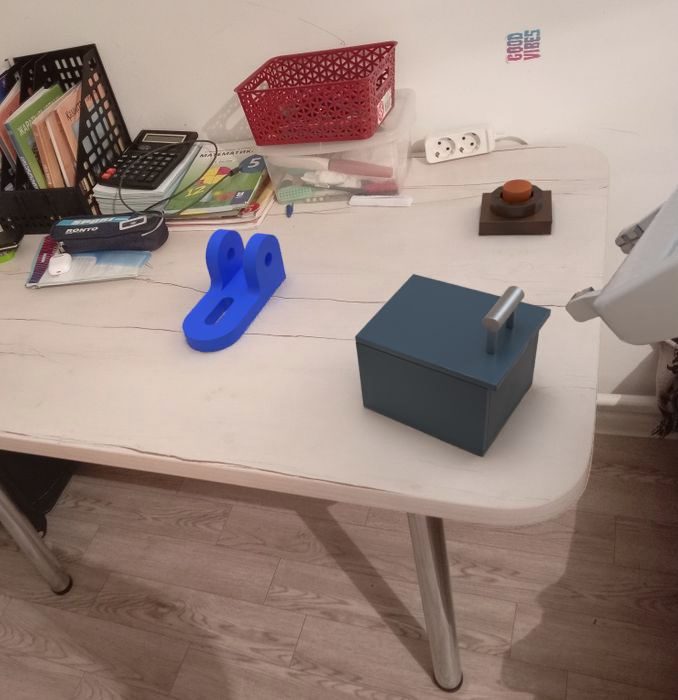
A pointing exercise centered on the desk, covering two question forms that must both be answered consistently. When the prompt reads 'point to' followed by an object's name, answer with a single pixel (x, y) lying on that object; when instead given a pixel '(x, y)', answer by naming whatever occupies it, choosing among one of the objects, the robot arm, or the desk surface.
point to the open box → (442, 397)
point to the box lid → (456, 329)
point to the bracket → (234, 288)
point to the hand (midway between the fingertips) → (599, 275)
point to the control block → (516, 214)
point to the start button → (517, 191)
